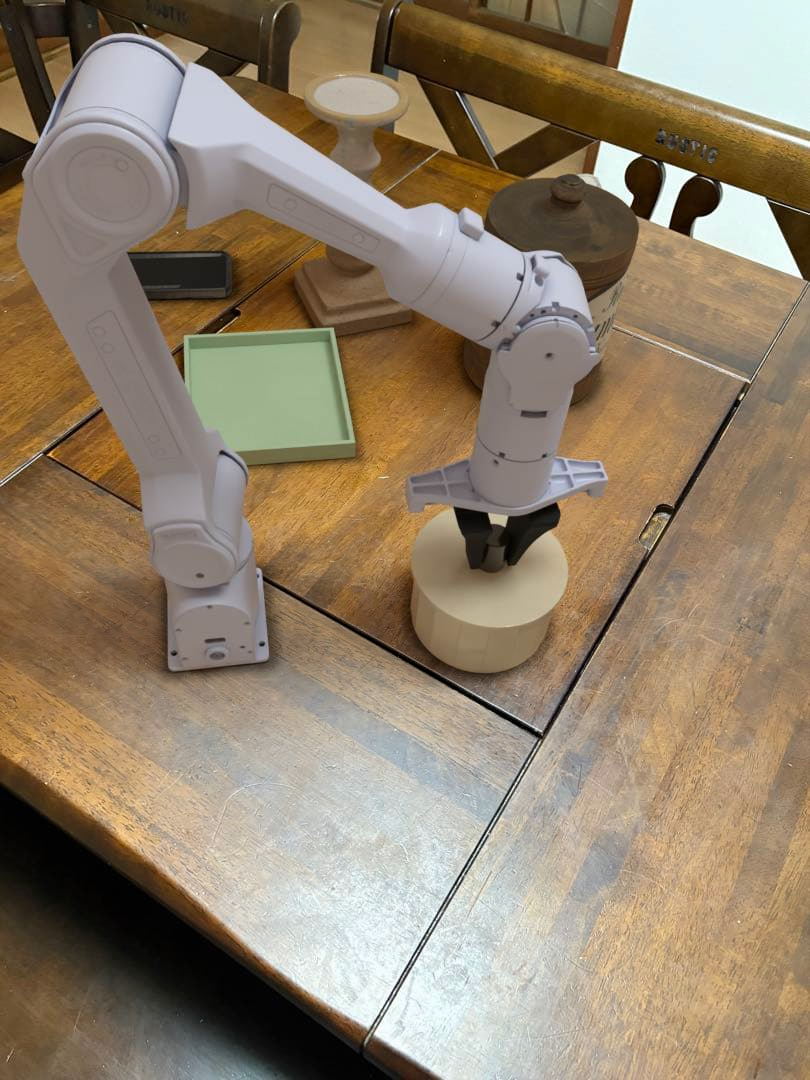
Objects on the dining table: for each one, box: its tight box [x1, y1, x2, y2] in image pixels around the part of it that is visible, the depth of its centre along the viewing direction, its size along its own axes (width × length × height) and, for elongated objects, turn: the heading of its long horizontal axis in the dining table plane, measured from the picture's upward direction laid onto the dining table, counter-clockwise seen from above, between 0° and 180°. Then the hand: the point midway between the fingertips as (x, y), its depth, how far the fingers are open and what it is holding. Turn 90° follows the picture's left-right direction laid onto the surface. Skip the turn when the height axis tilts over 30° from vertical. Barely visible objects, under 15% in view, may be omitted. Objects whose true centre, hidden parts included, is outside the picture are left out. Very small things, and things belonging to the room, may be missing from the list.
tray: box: [183, 327, 357, 466], centre depth 93 cm, size 18×16×2 cm
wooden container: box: [463, 173, 640, 406], centre depth 92 cm, size 15×15×22 cm
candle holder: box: [293, 70, 413, 338], centre depth 97 cm, size 11×11×24 cm
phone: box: [126, 250, 233, 300], centre depth 106 cm, size 8×1×15 cm
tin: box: [409, 580, 555, 674], centre depth 76 cm, size 12×12×7 cm
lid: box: [410, 507, 569, 631], centre depth 72 cm, size 13×13×4 cm
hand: (491, 557), depth 72 cm, fingers closed on lid, 2 cm apart
